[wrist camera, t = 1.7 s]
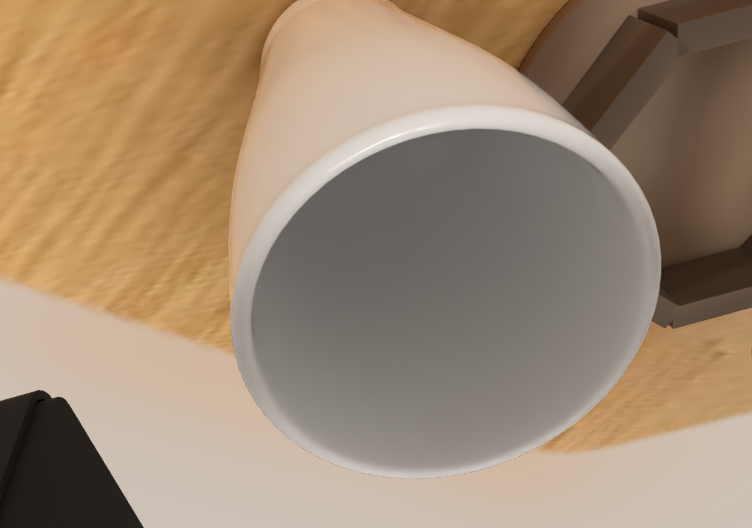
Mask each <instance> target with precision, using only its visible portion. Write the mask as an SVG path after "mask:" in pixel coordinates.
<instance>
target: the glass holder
mask: <svg viewBox="0 0 752 528" xmlns="http://www.w3.org/2000/svg"><path fill="white" fill-rule="evenodd" d="M518 71H519V72H521V73H522V74H523V75H525V76H526V77H528V78H529V79H530V80H532V81H533V82H534V83H536V84H537V85H538V86H539V87H541V88H542V89H543V90H544V91H546V92H547V93H548V94H549V95H550V96H551V97H553V98H554V99H555V100H556V101H557V102H558V103H560V104H561V105H562V106H563V107H564V108H565V109H567V110H568V111H569V112H570V113H571V114H572V115H573V116H574V117H575V118H576V119H578V120H579V121H580V122H581V123H582V124H583V125H584V126H585V127H586V128H587V129H588V130H589V131H590V132H591V133H592V134H593V135H594V136H595V137H596V138H597V139H598V140H599V141H600V142H601V143H602V144H603V145H604V146H605V147H606V148H607V149H608V150H609V151H611V152H612V153H613V154H614V155H615V156H616V157H617V158H618V159H619V160H620V161H621V162H622V164H623V165H624V166H625V167H626V168H627V169H628V170H629V172H630V173H631V175H632V176H633V177H634V179H635V180H636V182H637V183H638V184H639V186H640V188H641V190H642V192H643V194H644V195H645V197H646V199H647V201H648V203H649V206H650V209H651V211H652V214H653V217H654V219H655V223H656V227H657V231H658V235H659V241H660V250H661V280H660V289H659V295H658V299H657V304H656V308H655V312H654V315H653V318H652V321H653V322H655V323H656V324H658V325H660V326H662V327H664V328H666V327H667V326H668V325H670V326H671V327H672V328H673V329H674V328H678V327H682V326H685V325H689V324H693V323H696V322H700V321H704V320H707V319H711V318H715V317H718V316H722V315H726V314H729V313H733V312H737V311H740V310H744V309H748V308H751V307H752V0H570V1H569V2H568V3H567V4H566V5H565V6H564V7H563V8H562V9H561V10H560V11H559V12H558V13H557V14H556V15H555V16H554V18H553V19H552V20H551V21H550V23H549V24H548V25H547V26H546V28H545V29H544V30H543V32H542V33H541V34H540V35H539V37H538V38H537V39H536V41H535V42H534V44H533V46H532V47H531V49H530V51H529V52H528V54H527V55H526V57H525V59H524V60H523V62H522V63H521V65H520V67H519V69H518Z"/></svg>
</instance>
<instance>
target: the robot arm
mask: <svg viewBox="0 0 752 528" xmlns="http://www.w3.org/2000/svg"><path fill="white" fill-rule="evenodd" d="M0 528H144V527H143V526H142V524H141V523H140V521H139V519H138V518H137V516H136V514H135V513H134V511H133V509H132V508H131V506H130V504H129V503H128V501H127V499H126V498H125V496H124V494H123V493H122V491H121V489H120V488H119V486H118V484H117V483H116V481H115V480H114V478H113V476H112V475H111V473H110V471H109V470H108V468H107V466H106V465H105V463H104V461H103V460H102V458H101V456H100V455H99V453H98V452H97V450H96V448H95V446H94V445H93V443H92V442H91V440H90V438H89V437H88V435H87V433H86V432H85V430H84V428H83V427H82V425H81V423H80V422H79V420H78V418H77V417H76V415H75V413H74V412H73V410H72V408H71V407H70V405H69V404H68V403H67V401H66V400H65V399H64V398H62V397H56V398H51V396H50V395H49V394H48V393H46V392H45V391H40V390H38V391H35V392H31V393H27V394H24V395H20V396H17V397H13V398H9V399H6V400H2V401H0Z"/></svg>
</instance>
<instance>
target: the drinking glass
mask: <svg viewBox="0 0 752 528" xmlns="http://www.w3.org/2000/svg"><path fill="white" fill-rule="evenodd" d="M228 269H229V295H230V310H231V335H232V341H233V348H234V353H235V356H236V360H237V364H238V367H239V370H240V372H241V375H242V377H243V380H244V382H245V385H246V387H247V388H248V390H249V392H250V394H251V396H252V397H253V399H254V401H255V402H256V404H257V405H258V406H259V408H260V409H261V410H262V412H263V413H264V414H265V416H266V417H267V418H268V419H269V420H270V421H271V422H272V423H273V424H274V425H275V427H276V428H277V429H279V430H280V431H281V432H282V433H283V434H284V435H285V436H287V437H288V438H289V439H290V440H292V441H293V442H294V443H296V444H297V445H299V446H300V447H302V448H303V449H305V450H306V451H308V452H310V453H312V454H313V455H315V456H317V457H319V458H321V459H323V460H325V461H328V462H330V463H332V464H335V465H338V466H340V467H343V468H346V469H349V470H353V471H356V472H361V473H365V474H369V475H376V476H381V477H389V478H402V479H425V478H440V477H447V476H455V475H460V474H465V473H470V472H475V471H478V470H482V469H485V468H489V467H492V466H495V465H498V464H501V463H504V462H507V461H509V460H511V459H514V458H516V457H518V456H521V455H523V454H526V453H528V452H530V451H531V450H533V449H535V448H537V447H539V446H541V445H543V444H545V443H546V442H548V441H550V440H551V439H553V438H555V437H556V436H558V435H559V434H561V433H562V432H564V431H565V430H567V429H568V428H569V427H571V426H572V425H574V424H575V423H576V422H577V421H579V420H580V419H581V418H582V417H583V416H585V415H586V414H587V413H588V412H589V411H590V410H591V409H592V408H594V407H595V406H596V405H597V404H598V403H599V402H600V401H601V400H602V399H603V398H604V397H605V396H606V394H607V393H608V392H609V391H610V390H611V389H612V388H613V387H614V385H615V384H616V383H617V382H618V380H619V379H620V378H621V377H622V375H623V374H624V373H625V371H626V370H627V368H628V367H629V365H630V364H631V362H632V360H633V359H634V357H635V355H636V354H637V352H638V350H639V348H640V346H641V344H642V343H643V340H644V338H645V336H646V333H647V331H648V329H649V327H650V324H651V321H652V318H653V315H654V312H655V308H656V304H657V299H658V295H659V289H660V280H661V250H660V241H659V235H658V231H657V227H656V223H655V219H654V217H653V214H652V211H651V209H650V206H649V203H648V201H647V199H646V197H645V195H644V194H643V192H642V190H641V188H640V186H639V184H638V183H637V182H636V180H635V179H634V177H633V176H632V175H631V173H630V172H629V170H628V169H627V168H626V167H625V166H624V165H623V164H622V162H621V161H620V160H619V159H618V158H617V157H616V156H615V155H614V154H613V153H612V152H611V151H609V150H608V149H607V148H606V147H605V146H604V145H603V144H602V143H601V142H600V141H599V140H598V139H597V138H596V137H595V136H594V135H593V134H592V133H591V132H590V131H589V130H588V129H587V128H586V127H585V126H584V125H583V124H582V123H581V122H580V121H579V120H578V119H576V118H575V117H574V116H573V115H572V114H571V113H570V112H569V111H568V110H567V109H565V108H564V107H563V106H562V105H561V104H560V103H558V102H557V101H556V100H555V99H554V98H553V97H551V96H550V95H549V94H548V93H547V92H546V91H544V90H543V89H542V88H541V87H539V86H538V85H537V84H536V83H534V82H533V81H532V80H530V79H529V78H528V77H526V76H525V75H523V74H522V73H521V72H519V71H518V70H516V69H515V68H513V67H512V66H510V65H509V64H507V63H506V62H504V61H503V60H501V59H500V58H498V57H496V56H495V55H493V54H491V53H489V52H488V51H486V50H484V49H482V48H480V47H478V46H476V45H474V44H472V43H470V42H468V41H466V40H464V39H462V38H460V37H458V36H456V35H454V34H452V33H449V32H447V31H445V30H443V29H441V28H439V27H436V26H434V25H432V24H430V23H428V22H425V21H423V20H421V19H419V18H417V17H415V16H413V15H411V14H409V13H407V12H405V11H403V10H401V9H400V8H399V7H397V6H396V5H395V4H394V3H393V2H391V1H390V0H297V1H296V2H294V3H293V4H292V5H291V6H289V7H288V8H287V9H286V10H285V11H284V12H283V13H282V14H281V16H280V17H279V18H278V19H277V21H276V22H275V24H274V25H273V27H272V28H271V30H270V32H269V34H268V36H267V39H266V41H265V44H264V48H263V51H262V56H261V64H260V79H259V83H258V87H257V90H256V94H255V98H254V101H253V105H252V109H251V112H250V116H249V119H248V123H247V126H246V130H245V133H244V137H243V140H242V144H241V148H240V152H239V156H238V161H237V166H236V171H235V176H234V181H233V188H232V195H231V206H230V218H229V233H228Z"/></svg>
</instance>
